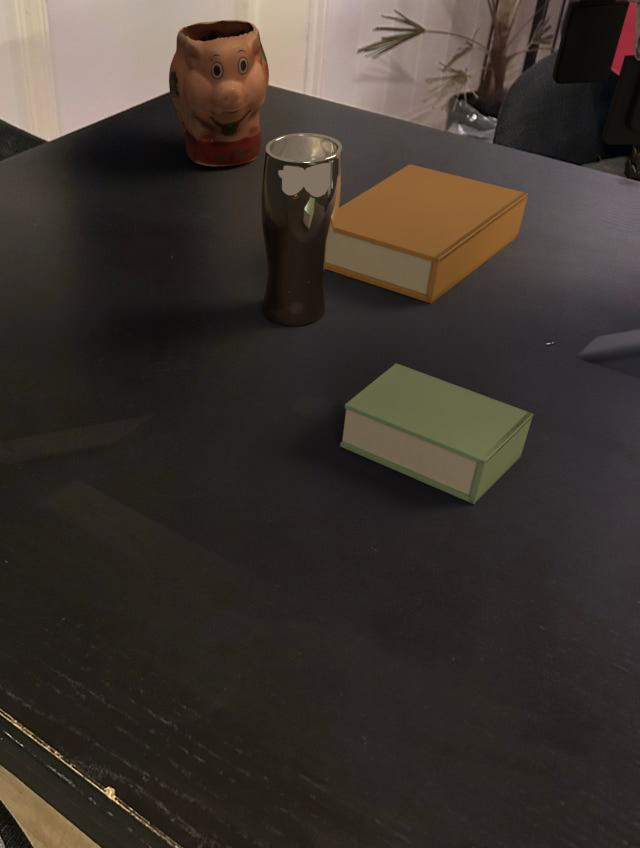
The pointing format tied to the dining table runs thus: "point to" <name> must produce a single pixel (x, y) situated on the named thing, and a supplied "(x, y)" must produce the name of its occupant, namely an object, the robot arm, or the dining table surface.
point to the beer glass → (299, 223)
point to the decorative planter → (219, 90)
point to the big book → (423, 231)
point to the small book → (435, 431)
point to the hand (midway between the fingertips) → (603, 109)
